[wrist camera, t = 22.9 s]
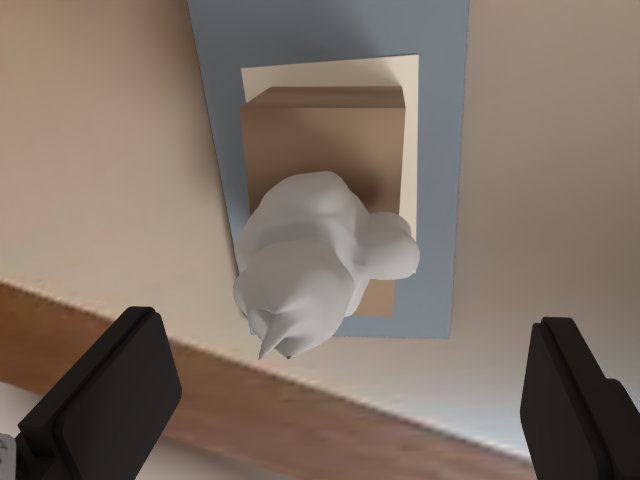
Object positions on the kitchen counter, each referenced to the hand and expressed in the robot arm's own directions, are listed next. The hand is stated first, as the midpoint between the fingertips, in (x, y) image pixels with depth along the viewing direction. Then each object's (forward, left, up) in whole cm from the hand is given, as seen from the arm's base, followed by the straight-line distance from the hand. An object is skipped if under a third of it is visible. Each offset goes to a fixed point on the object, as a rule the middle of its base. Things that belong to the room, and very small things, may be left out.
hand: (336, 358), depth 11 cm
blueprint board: (0, +1, -14) cm, 14 cm away
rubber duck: (0, +1, -8) cm, 8 cm away
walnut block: (0, +1, -13) cm, 13 cm away
